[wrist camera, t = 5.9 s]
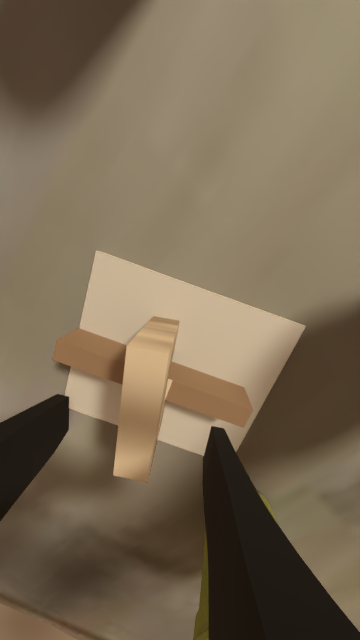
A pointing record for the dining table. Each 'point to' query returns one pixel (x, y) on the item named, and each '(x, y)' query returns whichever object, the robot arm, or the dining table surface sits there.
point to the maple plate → (144, 397)
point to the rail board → (175, 352)
